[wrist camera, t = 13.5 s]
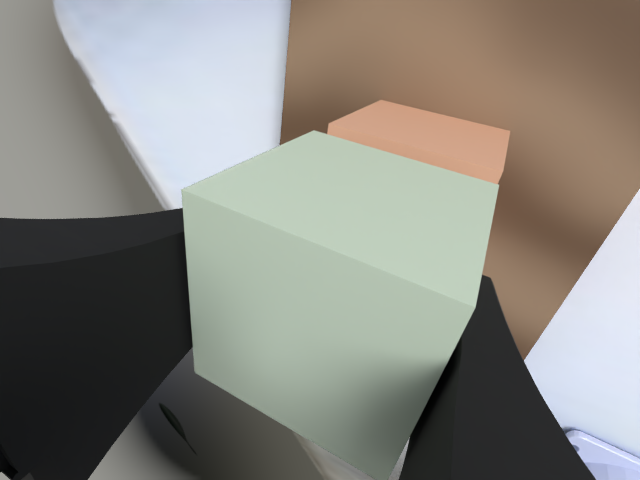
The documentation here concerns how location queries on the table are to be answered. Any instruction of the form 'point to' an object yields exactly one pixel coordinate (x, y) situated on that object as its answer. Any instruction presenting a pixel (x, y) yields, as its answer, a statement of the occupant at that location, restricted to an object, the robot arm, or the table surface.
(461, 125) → the terracotta block
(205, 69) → the table surface
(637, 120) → the walnut base
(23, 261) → the robot arm
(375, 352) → the sage block
